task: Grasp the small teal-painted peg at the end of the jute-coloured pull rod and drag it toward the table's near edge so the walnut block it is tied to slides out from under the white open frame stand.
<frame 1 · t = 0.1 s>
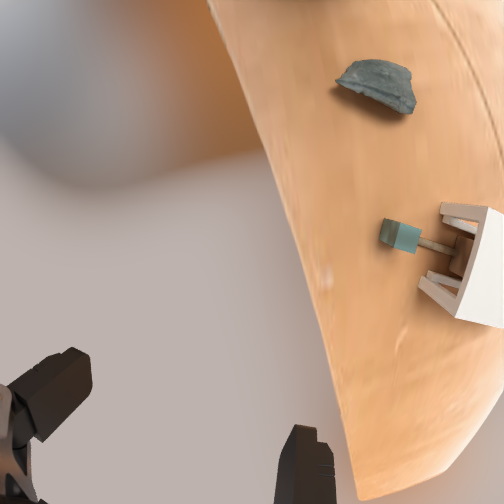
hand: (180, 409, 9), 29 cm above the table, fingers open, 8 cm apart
white open frame stand: (471, 259, 33), on the table
stone: (379, 84, 31), on the table
tethered block: (444, 250, 31), point 3 cm above the table, slide at 0.0 cm
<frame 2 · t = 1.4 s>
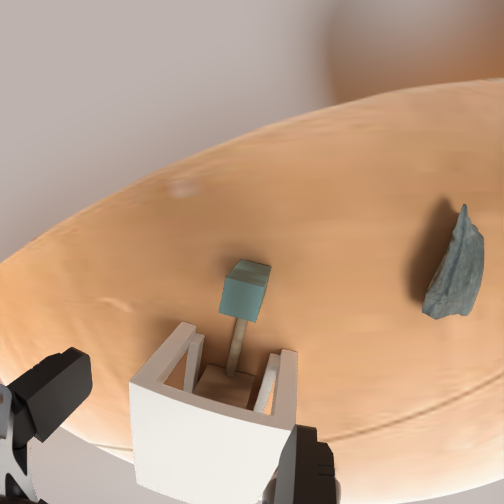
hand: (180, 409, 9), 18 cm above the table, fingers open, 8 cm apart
pump dispenser: (302, 471, 32), on the table
white open frame stand: (225, 395, 30), on the table
stone: (454, 270, 24), on the table
tethered block: (231, 358, 25), point 3 cm above the table, slide at 0.0 cm
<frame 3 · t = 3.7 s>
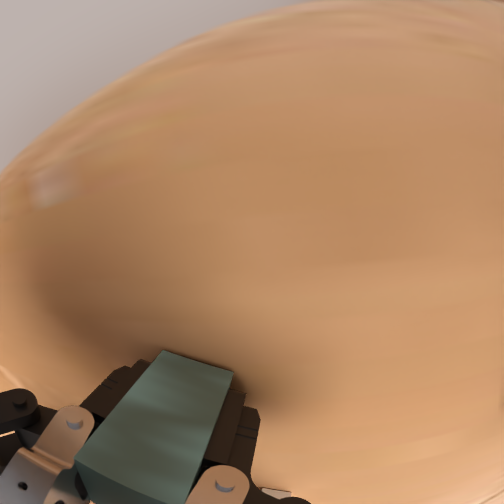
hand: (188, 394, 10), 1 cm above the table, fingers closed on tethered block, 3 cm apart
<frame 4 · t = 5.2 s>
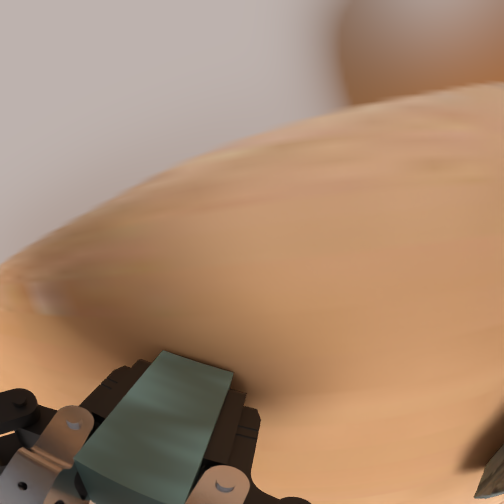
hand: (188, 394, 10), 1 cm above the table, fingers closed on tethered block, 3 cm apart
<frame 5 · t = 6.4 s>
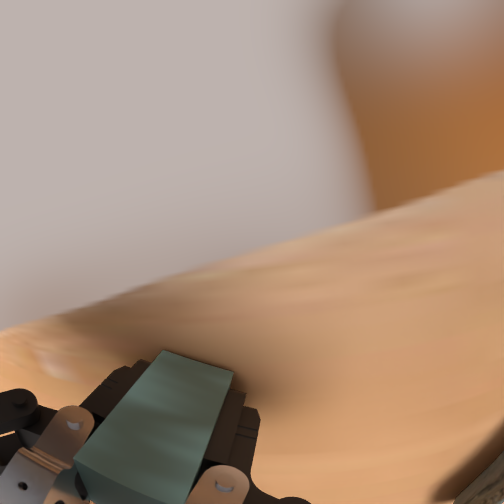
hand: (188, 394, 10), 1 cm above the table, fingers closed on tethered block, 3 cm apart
stone: (498, 460, 10), on the table
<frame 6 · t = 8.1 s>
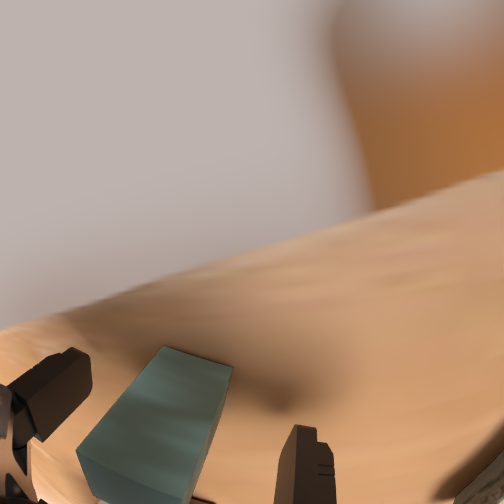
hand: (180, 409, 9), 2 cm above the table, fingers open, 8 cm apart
stone: (498, 459, 10), on the table
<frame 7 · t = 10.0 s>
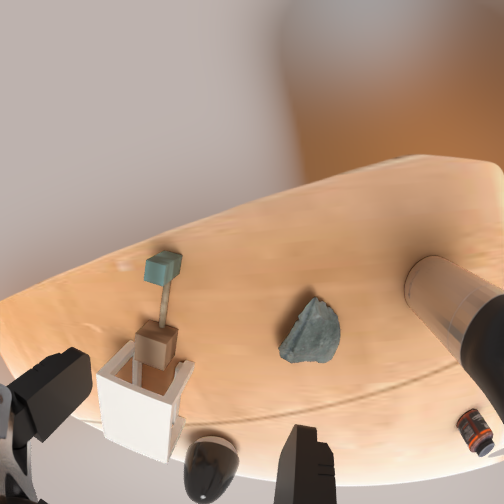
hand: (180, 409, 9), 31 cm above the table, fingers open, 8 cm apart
pump dispenser: (217, 444, 49), on the table
white open frame stand: (158, 385, 47), on the table
stone: (315, 332, 42), on the table
tethered block: (158, 312, 40), point 3 cm above the table, slide at 9.5 cm
supplement bottle: (466, 417, 42), on the table
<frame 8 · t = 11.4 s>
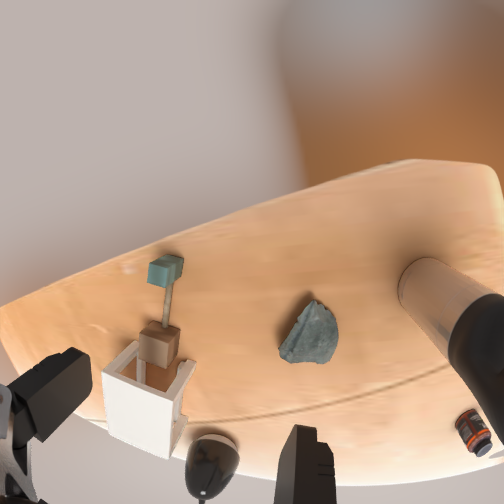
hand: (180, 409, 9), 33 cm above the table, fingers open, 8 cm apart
pump dispenser: (218, 442, 51), on the table
white open frame stand: (161, 384, 49), on the table
stone: (314, 334, 43), on the table
tethered block: (160, 313, 42), point 3 cm above the table, slide at 9.5 cm
supplement bottle: (465, 418, 42), on the table
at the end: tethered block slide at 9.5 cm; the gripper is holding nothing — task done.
